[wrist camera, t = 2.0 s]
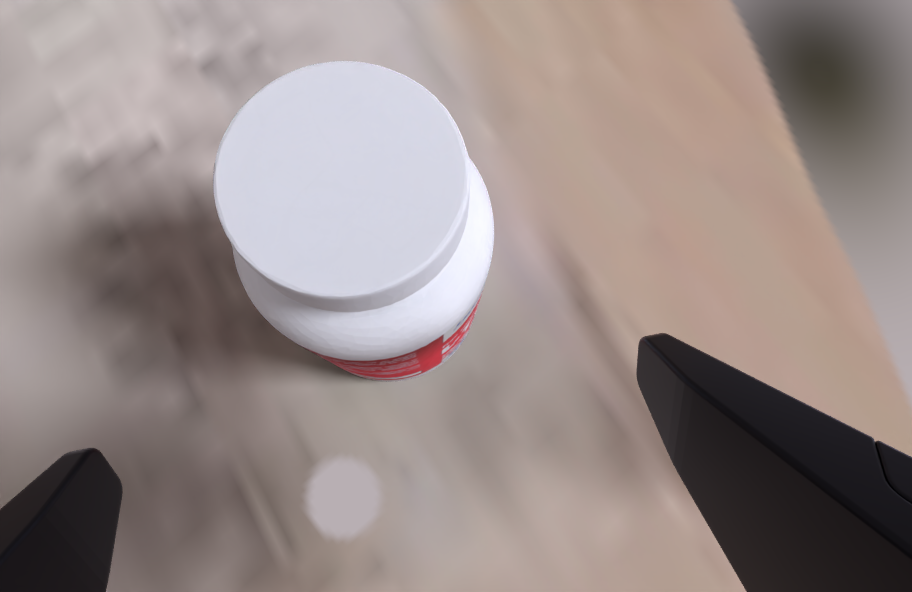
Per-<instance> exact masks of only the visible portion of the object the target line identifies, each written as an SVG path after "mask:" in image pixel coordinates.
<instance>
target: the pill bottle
mask: <svg viewBox="0 0 912 592" xmlns="http://www.w3.org/2000/svg"><path fill="white" fill-rule="evenodd" d="M213 191H214V199H215V205H216V210H217V214H218V217H219V220H220V222H221V225H222V227H223V230H224V232H225V234H226V236H227V237H228V239H229V241H230V243H231V244H232V248H233V256H234V260H235V264H236V268H237V272H238V274H239V277H240V279H241V282H242V284H243V286H244V288H245V290H246V292H247V294H248V296H249V298H250V299H251V301H252V303H253V304H254V305H255V307H256V308H257V310H258V311H259V312H260V313H261V314H262V316H263V317H264V318H265V319H266V320H267V321H268V322H269V323H270V324H271V325H272V326H273V327H274V328H276V329H277V330H278V331H279V332H281V333H282V334H283V335H284V336H286V337H287V338H289V339H290V340H292V341H293V342H295V343H296V344H298V345H300V346H302V347H303V348H305V349H307V350H309V351H311V352H313V353H314V354H316V355H318V356H320V357H322V358H324V359H325V360H327V361H329V362H331V363H333V364H335V365H336V366H338V367H340V368H342V369H344V370H346V371H348V372H350V373H352V374H354V375H357V376H360V377H363V378H367V379H371V380H377V381H386V382H387V381H402V380H408V379H412V378H416V377H418V376H421V375H424V374H426V373H428V372H430V371H432V370H434V369H435V368H437V367H438V366H440V365H441V364H443V363H444V362H445V361H446V360H447V359H448V358H450V357H451V356H452V355H453V353H454V352H455V351H456V350H457V349H458V348H459V346H460V345H461V343H462V342H463V340H464V339H465V337H466V335H467V334H468V332H469V330H470V327H471V325H472V322H473V319H474V316H475V313H476V310H477V307H478V304H479V301H480V297H481V294H482V291H483V288H484V285H485V281H486V278H487V275H488V271H489V268H490V263H491V259H492V253H493V244H494V221H493V212H492V207H491V202H490V198H489V195H488V192H487V189H486V186H485V184H484V181H483V179H482V177H481V175H480V173H479V171H478V170H477V168H476V166H475V165H474V163H473V162H472V160H471V159H470V158H469V156H468V153H467V150H466V146H465V143H464V140H463V138H462V135H461V133H460V131H459V129H458V127H457V125H456V123H455V121H454V120H453V118H452V116H451V115H450V113H449V112H448V111H447V109H446V108H445V107H444V105H443V104H442V103H441V102H439V101H438V99H437V98H436V97H435V96H434V95H433V94H432V93H430V92H429V91H428V90H427V89H426V88H424V87H423V86H422V85H420V84H419V83H417V82H416V81H414V80H412V79H411V78H409V77H407V76H405V75H403V74H401V73H399V72H396V71H394V70H391V69H389V68H385V67H382V66H378V65H374V64H369V63H363V62H356V61H333V62H326V63H319V64H313V65H309V66H306V67H302V68H299V69H296V70H294V71H292V72H290V73H287V74H285V75H283V76H281V77H279V78H278V79H276V80H274V81H272V82H271V83H269V84H267V85H266V86H264V87H263V88H262V89H260V90H259V91H258V92H257V93H256V94H255V95H253V96H252V97H251V98H250V99H249V100H248V101H247V102H246V103H245V104H244V105H243V106H242V107H241V109H240V110H239V111H238V113H237V114H236V115H235V117H234V118H233V120H232V121H231V123H230V125H229V126H228V128H227V130H226V132H225V134H224V136H223V138H222V140H221V143H220V145H219V148H218V151H217V155H216V160H215V165H214V174H213Z"/></svg>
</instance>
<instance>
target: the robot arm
mask: <svg viewBox="0 0 912 592" xmlns="http://www.w3.org/2000/svg"><path fill="white" fill-rule="evenodd" d="M637 381H638V385H639V388H640V390H641V392H642V395H643V397H644V399H645V402H646V404H647V406H648V408H649V411H650V413H651V415H652V418H653V420H654V422H655V424H656V427H657V429H658V431H659V434H660V436H661V438H662V440H663V443H664V445H665V447H666V450H667V452H668V454H669V456H670V458H671V460H672V463H673V465H674V466H675V468H676V470H677V472H678V474H679V476H680V477H681V479H682V481H683V483H684V484H685V486H686V488H687V489H688V491H689V493H690V495H691V496H692V498H693V500H694V502H695V503H696V505H697V507H698V508H699V510H700V512H701V514H702V515H703V517H704V519H705V521H706V522H707V524H708V526H709V527H710V529H711V531H712V533H713V534H714V536H715V538H716V540H717V541H718V543H719V545H720V546H721V548H722V550H723V552H724V553H725V555H726V557H727V559H728V560H729V562H730V564H731V565H732V567H733V569H734V571H735V572H736V574H737V576H738V578H739V579H740V581H741V583H742V584H743V586H744V588H745V590H746V591H747V592H912V457H911V456H908V455H906V454H904V453H902V452H900V451H898V450H896V449H894V448H893V447H891V446H889V445H887V444H885V443H883V442H881V441H876V442H875V441H874V439H873V438H872V437H870V436H868V435H866V434H864V433H862V432H860V431H858V430H856V429H855V428H853V427H851V426H849V425H847V424H845V423H843V422H841V421H839V420H837V419H835V418H833V417H831V416H829V415H827V414H825V413H823V412H821V411H819V410H817V409H815V408H813V407H811V406H809V405H807V404H805V403H803V402H801V401H799V400H797V399H795V398H793V397H791V396H789V395H787V394H785V393H783V392H781V391H779V390H777V389H775V388H773V387H771V386H769V385H767V384H765V383H763V382H761V381H759V380H757V379H755V378H754V377H752V376H750V375H748V374H746V373H744V372H742V371H740V370H738V369H736V368H734V367H732V366H730V365H728V364H726V363H724V362H722V361H720V360H718V359H716V358H714V357H712V356H710V355H708V354H706V353H704V352H702V351H700V350H698V349H696V348H694V347H692V346H690V345H688V344H686V343H684V342H682V341H680V340H678V339H676V338H674V337H672V336H670V335H668V334H665V333H659V334H654V335H649V336H645V337H643V338H641V339H640V342H639V347H638V360H637ZM121 500H122V484H121V481H120V479H119V477H118V476H117V474H116V473H115V472H114V470H113V469H112V467H111V466H110V464H109V463H108V462H107V460H106V459H105V457H104V456H103V455H102V453H101V452H100V451H99V450H97V449H95V448H87V449H82V450H77V451H72V452H69V453H66V454H64V455H63V456H62V457H61V458H59V459H58V460H57V461H56V462H55V463H54V464H52V465H51V466H50V467H49V468H48V469H47V470H46V471H44V472H43V473H42V474H41V475H40V476H39V477H37V478H36V479H35V480H34V481H33V482H32V483H30V484H29V485H28V486H27V487H26V488H25V489H23V490H22V491H21V492H20V493H19V494H18V495H17V496H15V497H14V498H13V499H12V500H11V501H10V502H8V503H7V504H6V505H5V506H4V507H3V508H1V509H0V592H106V588H107V583H108V578H109V573H110V567H111V561H112V555H113V549H114V543H115V537H116V530H117V524H118V518H119V512H120V506H121Z"/></svg>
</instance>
